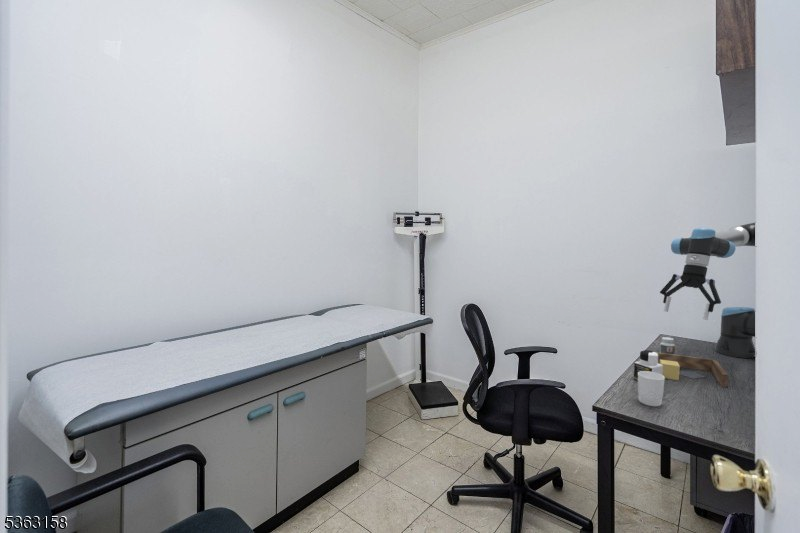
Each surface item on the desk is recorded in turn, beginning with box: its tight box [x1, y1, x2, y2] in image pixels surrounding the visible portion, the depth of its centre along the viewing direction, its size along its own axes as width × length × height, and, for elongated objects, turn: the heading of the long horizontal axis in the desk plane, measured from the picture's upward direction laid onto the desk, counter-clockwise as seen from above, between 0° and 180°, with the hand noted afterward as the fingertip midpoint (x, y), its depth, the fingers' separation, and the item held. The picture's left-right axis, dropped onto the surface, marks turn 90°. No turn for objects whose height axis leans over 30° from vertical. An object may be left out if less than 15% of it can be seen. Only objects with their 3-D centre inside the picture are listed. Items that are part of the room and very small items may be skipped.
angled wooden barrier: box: [655, 351, 729, 388], centre depth 155 cm, size 22×20×5 cm
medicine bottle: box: [633, 349, 663, 381], centre depth 148 cm, size 7×7×12 cm
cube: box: [660, 359, 681, 381], centre depth 152 cm, size 6×6×6 cm
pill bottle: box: [659, 336, 676, 355], centre depth 174 cm, size 6×6×10 cm
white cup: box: [637, 371, 666, 407], centre depth 129 cm, size 8×8×10 cm
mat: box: [679, 370, 706, 380], centre depth 154 cm, size 10×10×1 cm
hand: (684, 315), depth 151 cm, fingers open, 13 cm apart
